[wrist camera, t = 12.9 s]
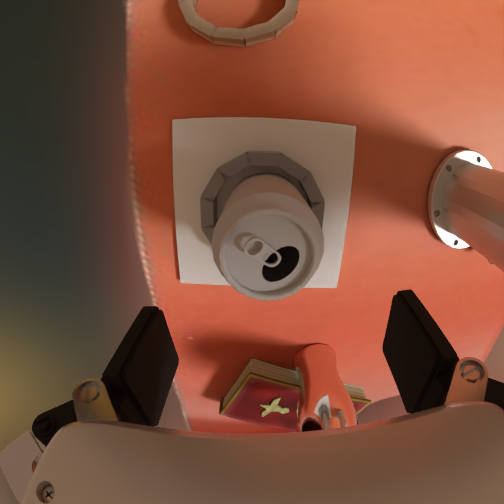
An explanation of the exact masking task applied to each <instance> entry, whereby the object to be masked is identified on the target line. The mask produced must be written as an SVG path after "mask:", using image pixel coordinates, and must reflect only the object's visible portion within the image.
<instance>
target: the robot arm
mask: <svg viewBox="0 0 504 504" xmlns="http://www.w3.org/2000/svg"><path fill="white" fill-rule="evenodd" d="M428 214H429V220H430V223H431V226H432V229H433V231H434V232H435V234H436V236H437V237H438V238H439V239H440V240H441V241H442V242H444V243H445V244H446V245H448V246H450V247H452V248H457V249H461V248H466V247H469V246H471V247H472V248H473V249H475V250H476V251H477V252H479V253H480V254H482V255H483V256H484V257H486V258H487V259H488V262H489V263H490V264H495V265H496V266H497V267H499V268H500V269H501V270H502V271H504V172H501V171H497V170H494V169H492V167H491V165H490V164H489V162H488V161H487V160H486V159H485V158H484V156H482V155H481V154H479V153H478V152H475V151H472V150H466V149H463V150H457V151H455V152H452V153H451V154H449V155H448V156H447V157H445V158H444V160H443V161H442V162H441V163H440V164H439V166H438V168H437V169H436V171H435V173H434V176H433V178H432V180H431V184H430V188H429V194H428ZM383 353H384V355H385V358H386V360H387V363H388V365H389V367H390V370H391V372H392V375H393V377H394V380H395V382H396V385H397V388H398V390H399V393H400V395H401V398H402V401H403V403H404V406H405V409H406V411H407V413H411V414H408V415H404V416H399V417H395V418H390V419H386V420H381V421H377V422H372V423H366V424H361V425H355V426H348V427H342V428H334V429H326V430H317V431H307V432H293V433H273V434H229V433H208V432H195V431H185V430H176V429H167V428H159V427H154V426H157V425H158V423H159V420H160V417H161V414H162V411H163V408H164V405H165V402H166V399H167V396H168V393H169V390H170V387H171V384H172V381H173V378H174V375H175V372H176V369H177V367H178V362H179V359H178V355H177V352H176V349H175V346H174V344H173V341H172V338H171V335H170V332H169V329H168V326H167V323H166V320H165V317H164V313H163V311H162V310H159V308H158V307H157V306H145V307H143V308H142V309H141V311H140V313H139V314H138V316H137V317H136V319H135V321H134V322H133V324H132V325H131V327H130V329H129V330H128V332H127V334H126V335H125V337H124V339H123V340H122V342H121V344H120V345H119V347H118V349H117V350H116V352H115V354H114V355H113V357H112V359H111V360H110V362H109V364H108V366H107V367H106V369H105V371H104V373H103V377H102V378H101V380H99V379H96V378H89V379H85V380H83V381H81V382H80V383H79V384H77V385H76V387H75V388H74V390H73V393H72V399H73V400H71V401H69V402H67V403H64V404H62V405H60V406H58V407H55V408H53V409H51V410H49V411H46V412H44V413H42V414H40V415H39V416H38V417H37V418H36V419H35V420H34V422H33V426H32V432H30V431H29V430H28V431H26V432H25V433H24V434H22V435H21V436H20V437H18V438H17V439H16V440H14V441H13V442H12V443H11V444H9V445H8V446H7V447H5V448H4V449H3V450H2V451H1V453H0V467H1V469H2V471H3V473H4V475H5V477H6V480H7V482H8V483H9V485H10V487H11V489H12V491H13V493H14V495H15V497H16V498H17V500H18V502H19V504H504V383H502V382H499V381H496V380H493V379H491V378H488V370H487V367H486V366H485V364H484V363H483V362H482V361H480V360H479V359H476V358H473V357H465V358H463V359H461V360H459V358H458V356H457V354H456V352H455V350H454V349H453V347H452V346H451V344H450V343H449V341H448V340H447V338H446V337H445V335H444V334H443V332H442V331H441V329H440V328H439V326H438V325H437V324H436V322H435V321H434V319H433V318H432V317H431V315H430V314H429V312H428V311H427V310H426V308H425V307H424V305H423V304H422V303H421V301H420V300H419V299H418V297H417V296H416V295H415V293H414V292H413V291H412V290H403V291H398V292H397V294H396V295H394V296H393V300H392V305H391V310H390V315H389V320H388V324H387V329H386V333H385V338H384V342H383Z"/></svg>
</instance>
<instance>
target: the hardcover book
mask: <svg viewBox="0 0 504 504" xmlns="http://www.w3.org/2000/svg"><path fill="white" fill-rule="evenodd" d="M343 384H344V386H345V388H346V390H347V391H348V393H349V395H350V398H351V400H352V402H353V405H354V408H355V411H356V415H357V414H358V413H359V412H360V411H362V409H364V408H365V407H366V406H367V405H368V404H369V403H371V400H367V398H366V395H365V392H364V389H363V387H359V386H354V385H350V384H345V383H343ZM298 393H299V378H298V374H297V372H296V371H293V370H290V369H286V368H283V367H280V366H276V365H273V364H270V363H266V362H263V361H260V360H257V359H254V358H252V359H251V360H250V362H249V363H248V365H247V366H246V367H245V369H244V370H243V372H242V373H241V375H240V376H239V378H238V379H237V381H236V382H235V383H234V385H233V386H232V388H231V389H230V391H229V392H228V393H227V395H226V396H225V398H221V401H220V408H219V414H220V415H223V416H227V417H230V418H234V419H238V420H242V421H246V422H250V423H255V424H259V425H264V426H268V427H273V428H279V429H284V430H290V431H296V432H298V430H297V417H296V416H297V402H298Z"/></svg>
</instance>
